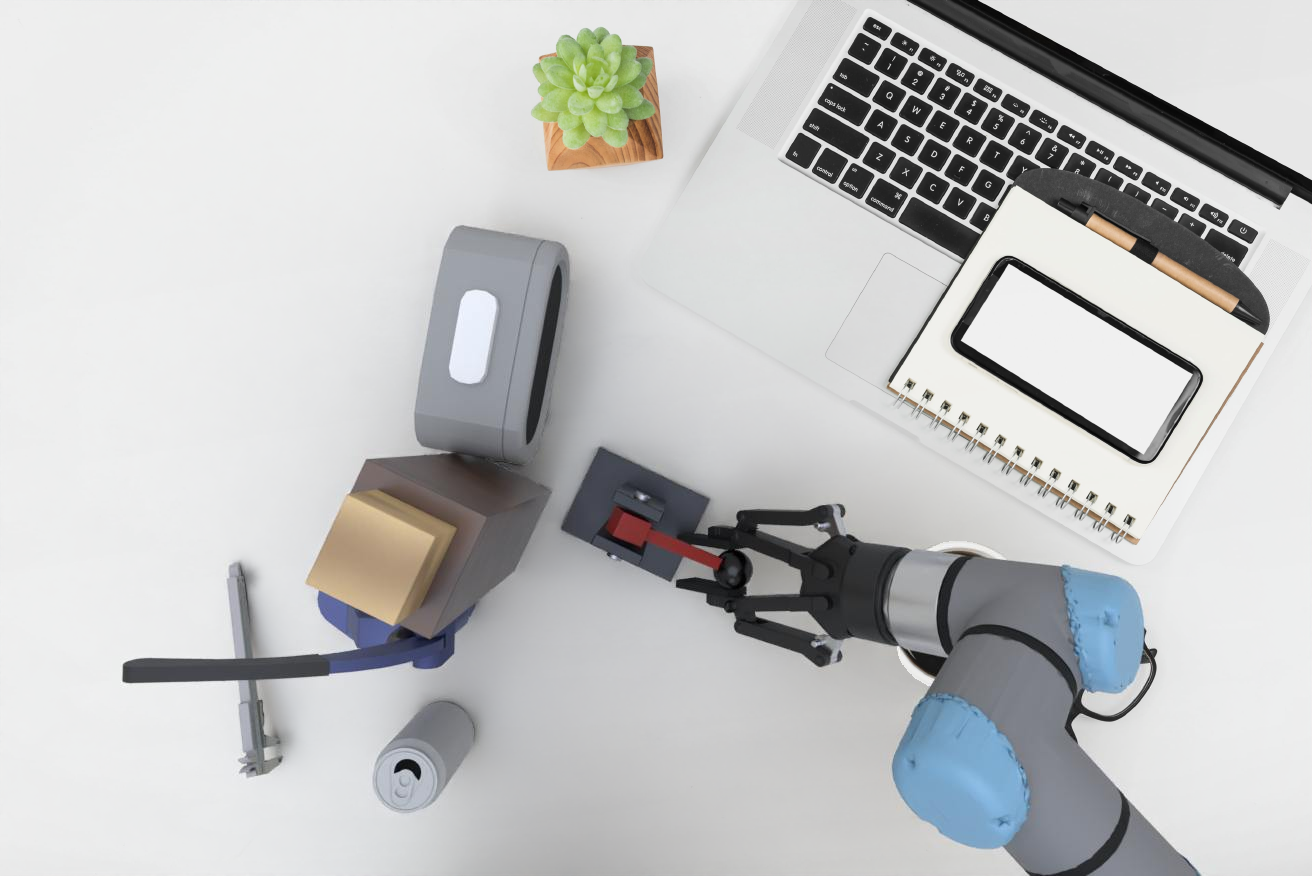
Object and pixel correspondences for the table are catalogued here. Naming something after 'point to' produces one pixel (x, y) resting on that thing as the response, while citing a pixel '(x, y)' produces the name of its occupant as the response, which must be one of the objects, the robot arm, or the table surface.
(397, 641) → the clamp
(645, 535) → the clamp lever
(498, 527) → the dark brown block
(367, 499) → the jaw block
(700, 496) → the toggle clamp
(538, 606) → the table surface
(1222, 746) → the table surface
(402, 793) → the beverage can
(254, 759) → the caliper
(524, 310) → the alarm clock
